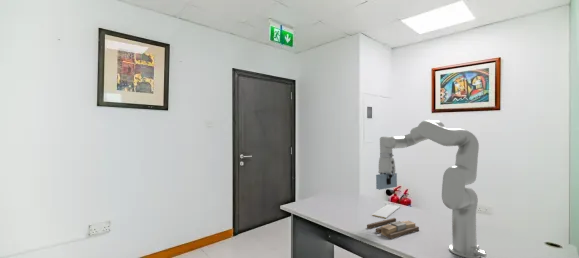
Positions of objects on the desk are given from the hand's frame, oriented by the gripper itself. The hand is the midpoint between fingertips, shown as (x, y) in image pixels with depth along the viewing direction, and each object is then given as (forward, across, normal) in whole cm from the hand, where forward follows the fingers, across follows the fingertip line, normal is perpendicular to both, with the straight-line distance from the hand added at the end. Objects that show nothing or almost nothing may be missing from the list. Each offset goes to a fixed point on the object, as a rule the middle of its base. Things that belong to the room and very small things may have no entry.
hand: (386, 183), depth 157 cm
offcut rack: (+25, -9, +6) cm, 27 cm away
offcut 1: (+25, -13, +14) cm, 32 cm away
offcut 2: (+25, -13, +6) cm, 29 cm away
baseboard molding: (+26, +17, -17) cm, 35 cm away
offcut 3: (+25, -13, -2) cm, 29 cm away
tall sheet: (+3, 0, 0) cm, 3 cm away
